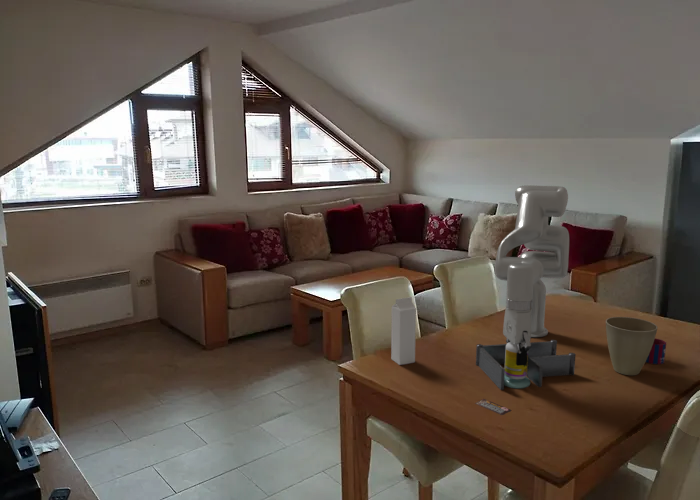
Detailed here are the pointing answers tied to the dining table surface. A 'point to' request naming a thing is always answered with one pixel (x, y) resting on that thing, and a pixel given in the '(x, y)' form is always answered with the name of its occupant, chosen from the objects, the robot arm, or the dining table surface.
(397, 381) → the dining table surface
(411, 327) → the milk
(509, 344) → the supplement bottle
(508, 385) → the pad
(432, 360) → the dining table surface
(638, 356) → the plant pot
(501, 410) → the chocolate bar
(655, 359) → the mug
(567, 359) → the gray wall barrier
